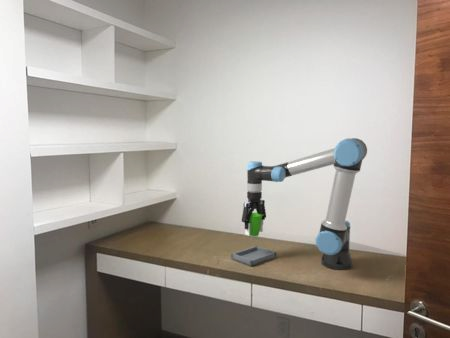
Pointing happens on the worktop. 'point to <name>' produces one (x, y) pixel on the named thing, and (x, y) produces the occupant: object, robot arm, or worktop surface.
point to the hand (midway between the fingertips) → (254, 233)
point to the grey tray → (253, 256)
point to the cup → (255, 224)
